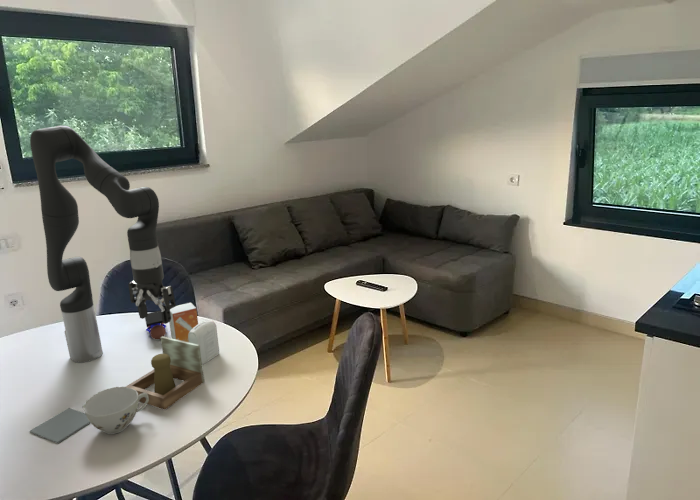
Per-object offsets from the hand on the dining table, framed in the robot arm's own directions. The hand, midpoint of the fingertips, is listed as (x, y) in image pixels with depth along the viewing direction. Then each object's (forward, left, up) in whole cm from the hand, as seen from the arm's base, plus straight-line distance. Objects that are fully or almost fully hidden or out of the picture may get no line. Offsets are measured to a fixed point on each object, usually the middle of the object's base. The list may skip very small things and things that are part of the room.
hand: (155, 320), depth 141 cm
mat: (-12, -23, -22) cm, 34 cm away
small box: (-16, +25, -22) cm, 37 cm away
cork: (0, 0, -22) cm, 22 cm away
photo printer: (-2, +19, -22) cm, 29 cm away
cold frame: (0, 0, -22) cm, 22 cm away
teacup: (+2, -17, -22) cm, 28 cm away
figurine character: (-32, +27, -22) cm, 47 cm away
